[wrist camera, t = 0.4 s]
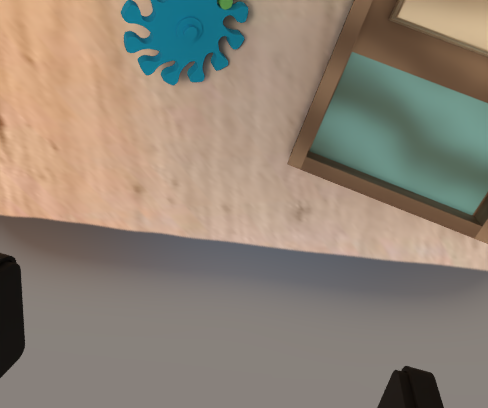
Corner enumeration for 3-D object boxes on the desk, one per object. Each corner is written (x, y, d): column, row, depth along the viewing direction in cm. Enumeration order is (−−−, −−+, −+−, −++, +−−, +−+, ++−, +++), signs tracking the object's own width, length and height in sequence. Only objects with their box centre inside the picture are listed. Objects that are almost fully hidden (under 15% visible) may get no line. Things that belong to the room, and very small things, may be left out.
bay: (407, -129, 29) (414, -147, 26) (658, -40, 28) (693, -48, 25) (290, 155, 38) (287, 164, 35) (476, 228, 37) (488, 244, 34)
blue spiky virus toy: (183, 109, 36) (94, 35, 28) (165, 71, 40) (80, -5, 32) (283, 23, 34) (214, -86, 26) (254, -10, 37) (185, -115, 29)
